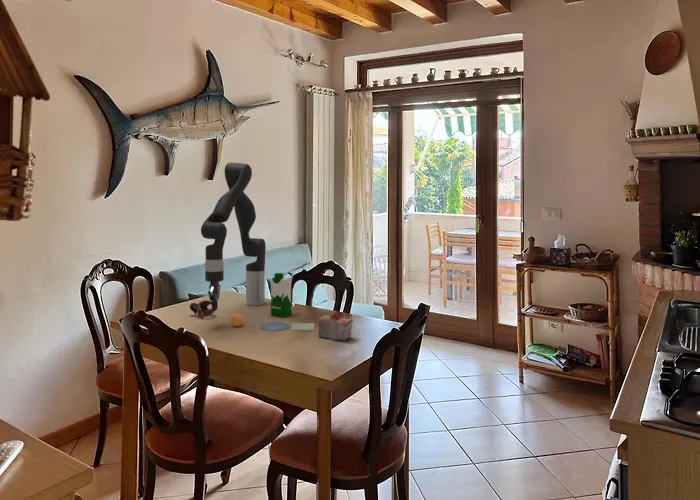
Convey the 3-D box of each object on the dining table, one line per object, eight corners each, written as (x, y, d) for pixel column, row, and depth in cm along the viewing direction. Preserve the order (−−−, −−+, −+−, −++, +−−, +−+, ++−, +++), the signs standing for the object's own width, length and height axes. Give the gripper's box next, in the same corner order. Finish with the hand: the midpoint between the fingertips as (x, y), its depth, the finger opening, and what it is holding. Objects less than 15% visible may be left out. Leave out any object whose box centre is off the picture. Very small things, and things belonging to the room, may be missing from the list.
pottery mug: (216, 314, 241) (218, 301, 237) (210, 327, 234) (212, 314, 229) (191, 307, 240) (193, 294, 236) (184, 321, 233) (186, 307, 228)
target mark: (261, 322, 227) (261, 321, 227) (291, 322, 228) (291, 322, 228) (257, 330, 214) (257, 330, 214) (288, 331, 215) (288, 330, 215)
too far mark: (291, 323, 226) (291, 323, 226) (314, 323, 227) (314, 323, 227) (290, 330, 216) (290, 329, 216) (313, 330, 217) (313, 329, 217)
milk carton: (267, 316, 238) (267, 273, 235) (278, 311, 246) (278, 270, 243) (284, 318, 234) (284, 275, 231) (294, 313, 242) (294, 272, 239)
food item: (354, 337, 209) (355, 314, 207) (346, 343, 201) (347, 318, 200) (324, 333, 214) (324, 310, 212) (315, 338, 207) (316, 314, 205)
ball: (232, 324, 223) (231, 312, 222) (244, 324, 223) (244, 312, 223) (229, 328, 218) (229, 315, 217) (242, 328, 218) (242, 315, 217)
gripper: (220, 272, 210) (220, 313, 212) (226, 267, 223) (226, 306, 226) (201, 272, 210) (202, 313, 212) (208, 266, 223) (209, 305, 225)
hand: (214, 309), depth 219 cm, fingers closed
